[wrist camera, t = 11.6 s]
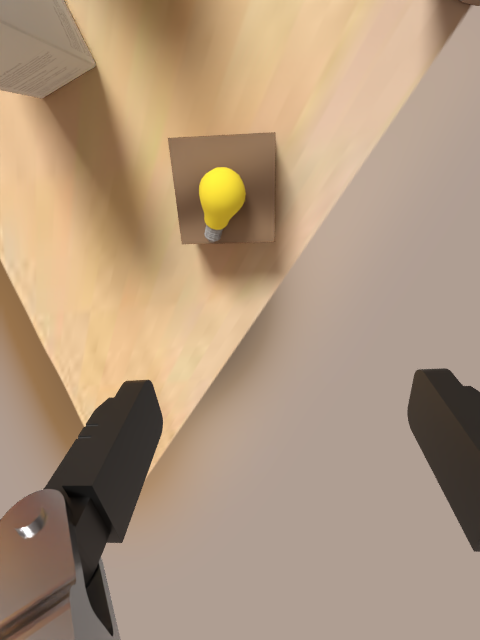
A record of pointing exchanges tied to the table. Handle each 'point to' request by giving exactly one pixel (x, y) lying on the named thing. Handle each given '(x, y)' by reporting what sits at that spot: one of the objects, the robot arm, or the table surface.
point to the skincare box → (40, 47)
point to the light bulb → (220, 199)
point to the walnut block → (243, 158)
